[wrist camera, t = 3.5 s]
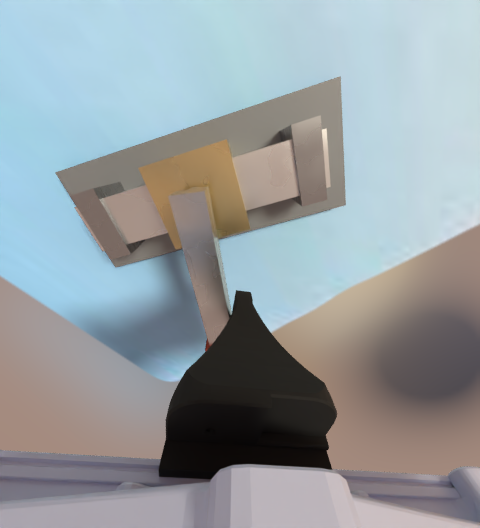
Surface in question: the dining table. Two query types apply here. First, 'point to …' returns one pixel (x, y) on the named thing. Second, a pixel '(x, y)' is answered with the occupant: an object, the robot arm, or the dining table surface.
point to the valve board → (241, 141)
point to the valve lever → (202, 257)
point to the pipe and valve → (210, 188)
